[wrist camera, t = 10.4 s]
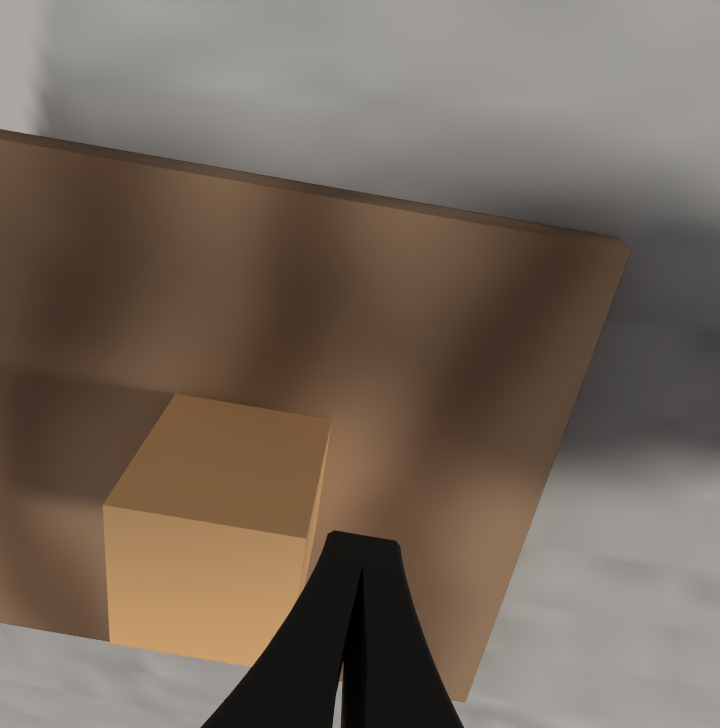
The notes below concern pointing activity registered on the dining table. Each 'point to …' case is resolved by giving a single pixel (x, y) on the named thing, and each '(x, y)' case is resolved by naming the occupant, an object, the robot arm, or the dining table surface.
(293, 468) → the tan wooden cube
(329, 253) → the base board
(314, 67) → the dining table surface
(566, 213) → the dining table surface
